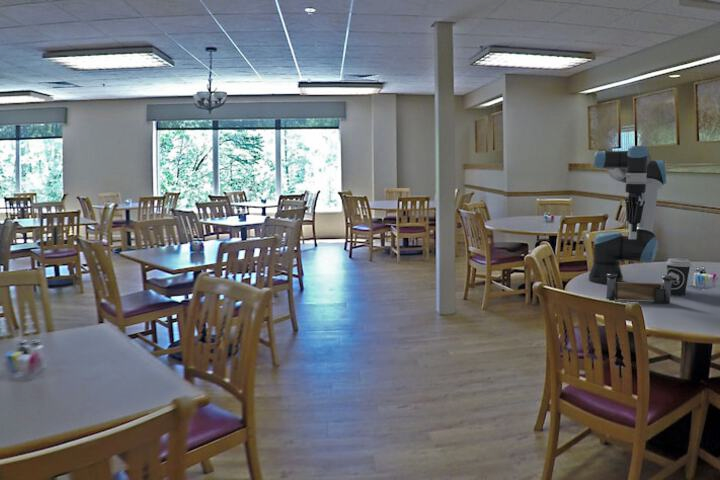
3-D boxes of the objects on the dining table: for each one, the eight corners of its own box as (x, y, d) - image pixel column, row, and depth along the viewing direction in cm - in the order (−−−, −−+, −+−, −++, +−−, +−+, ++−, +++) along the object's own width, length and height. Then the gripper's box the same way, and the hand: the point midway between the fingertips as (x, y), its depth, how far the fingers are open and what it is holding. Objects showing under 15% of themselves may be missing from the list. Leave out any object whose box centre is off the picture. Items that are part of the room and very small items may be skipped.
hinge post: (604, 298, 234) (605, 273, 233) (614, 298, 233) (616, 273, 232) (606, 300, 230) (607, 275, 229) (616, 301, 229) (618, 275, 228)
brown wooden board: (614, 298, 232) (615, 281, 231) (659, 300, 228) (660, 283, 227) (615, 299, 231) (616, 282, 229) (660, 301, 227) (661, 284, 225)
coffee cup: (692, 297, 234) (695, 262, 232) (667, 296, 236) (670, 261, 234) (684, 291, 244) (686, 258, 241) (660, 290, 245) (662, 257, 243)
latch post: (651, 300, 230) (653, 274, 228) (669, 301, 228) (671, 275, 226) (654, 303, 225) (656, 277, 224) (672, 304, 224) (674, 278, 222)
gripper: (619, 182, 238) (616, 236, 242) (633, 184, 226) (630, 241, 229) (637, 182, 238) (634, 236, 242) (652, 183, 225) (648, 241, 229)
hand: (632, 238), depth 235 cm, fingers closed
